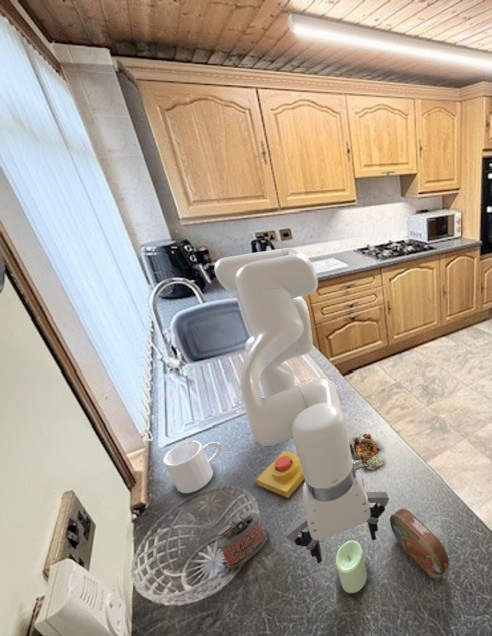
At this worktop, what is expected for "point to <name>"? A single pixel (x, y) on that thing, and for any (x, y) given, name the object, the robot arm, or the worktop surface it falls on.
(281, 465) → the red push button
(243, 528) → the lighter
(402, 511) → the tin
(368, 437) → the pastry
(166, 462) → the mug
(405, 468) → the worktop surface
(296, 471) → the button box
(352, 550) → the candle
